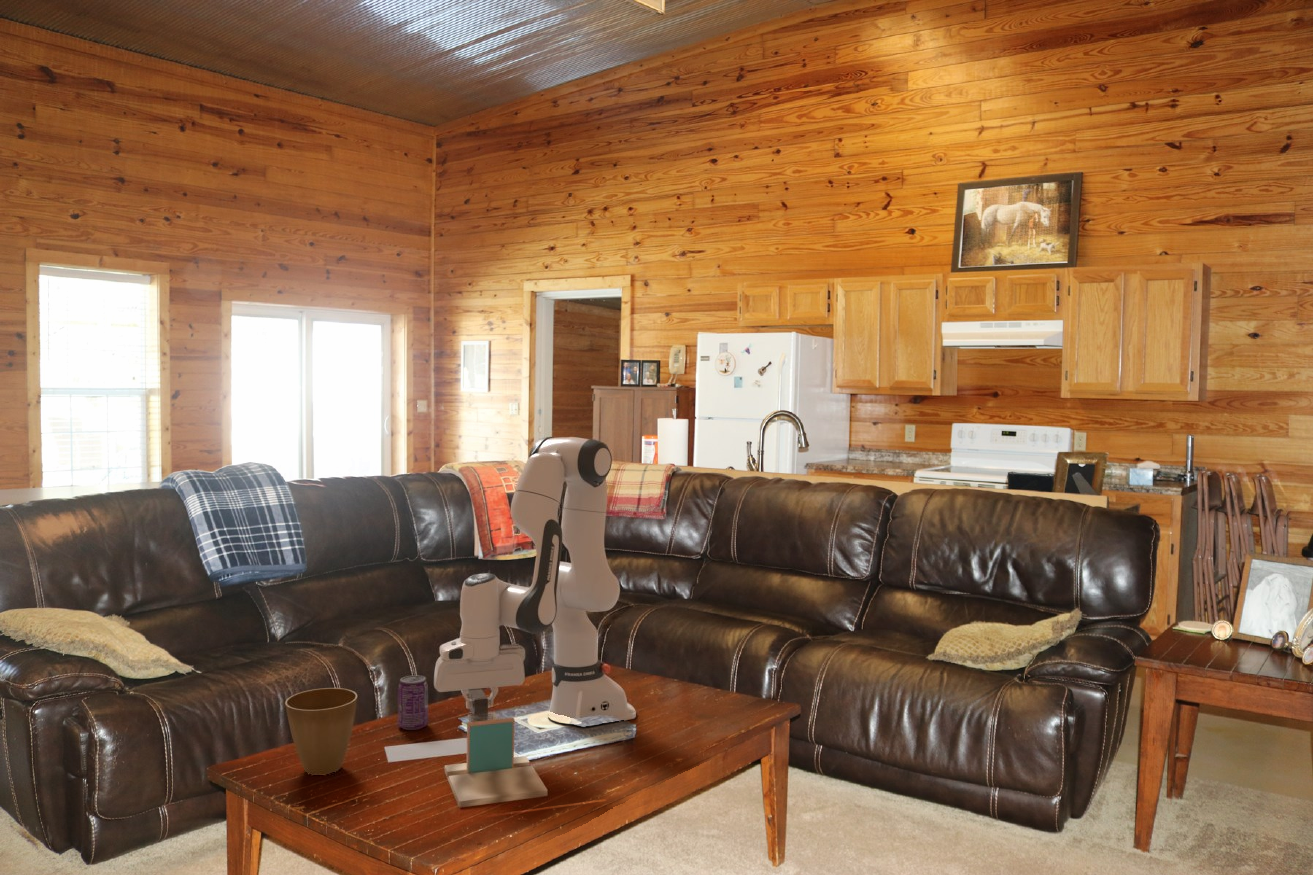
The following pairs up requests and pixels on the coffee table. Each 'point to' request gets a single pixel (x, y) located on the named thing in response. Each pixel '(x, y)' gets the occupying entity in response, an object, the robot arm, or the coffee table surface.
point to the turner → (480, 707)
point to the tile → (490, 745)
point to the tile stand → (495, 784)
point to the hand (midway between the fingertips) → (479, 706)
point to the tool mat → (426, 750)
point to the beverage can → (412, 702)
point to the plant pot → (321, 727)
